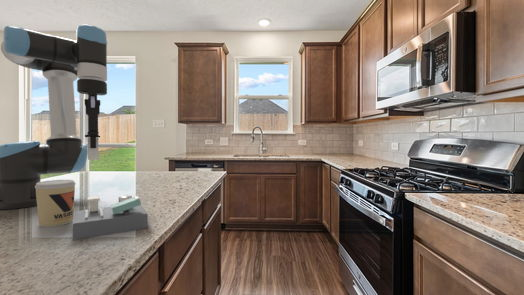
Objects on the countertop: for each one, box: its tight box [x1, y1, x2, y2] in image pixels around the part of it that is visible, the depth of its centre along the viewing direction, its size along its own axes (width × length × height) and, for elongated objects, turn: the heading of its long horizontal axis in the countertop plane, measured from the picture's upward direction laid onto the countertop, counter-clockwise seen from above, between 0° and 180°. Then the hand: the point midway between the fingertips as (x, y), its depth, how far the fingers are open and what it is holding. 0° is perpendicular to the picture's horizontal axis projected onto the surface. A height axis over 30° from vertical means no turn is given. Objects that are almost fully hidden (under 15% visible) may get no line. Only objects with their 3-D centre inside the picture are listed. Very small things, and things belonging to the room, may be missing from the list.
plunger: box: [118, 195, 133, 203], centre depth 80 cm, size 4×4×3 cm
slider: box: [87, 195, 101, 212], centre depth 76 cm, size 3×3×4 cm
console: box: [72, 204, 149, 241], centre depth 75 cm, size 13×17×5 cm
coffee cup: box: [35, 179, 76, 228], centre depth 78 cm, size 9×9×12 cm
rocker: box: [110, 195, 142, 214], centre depth 74 cm, size 4×7×2 cm, turn 123°
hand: (93, 158), depth 80 cm, fingers open, 3 cm apart
